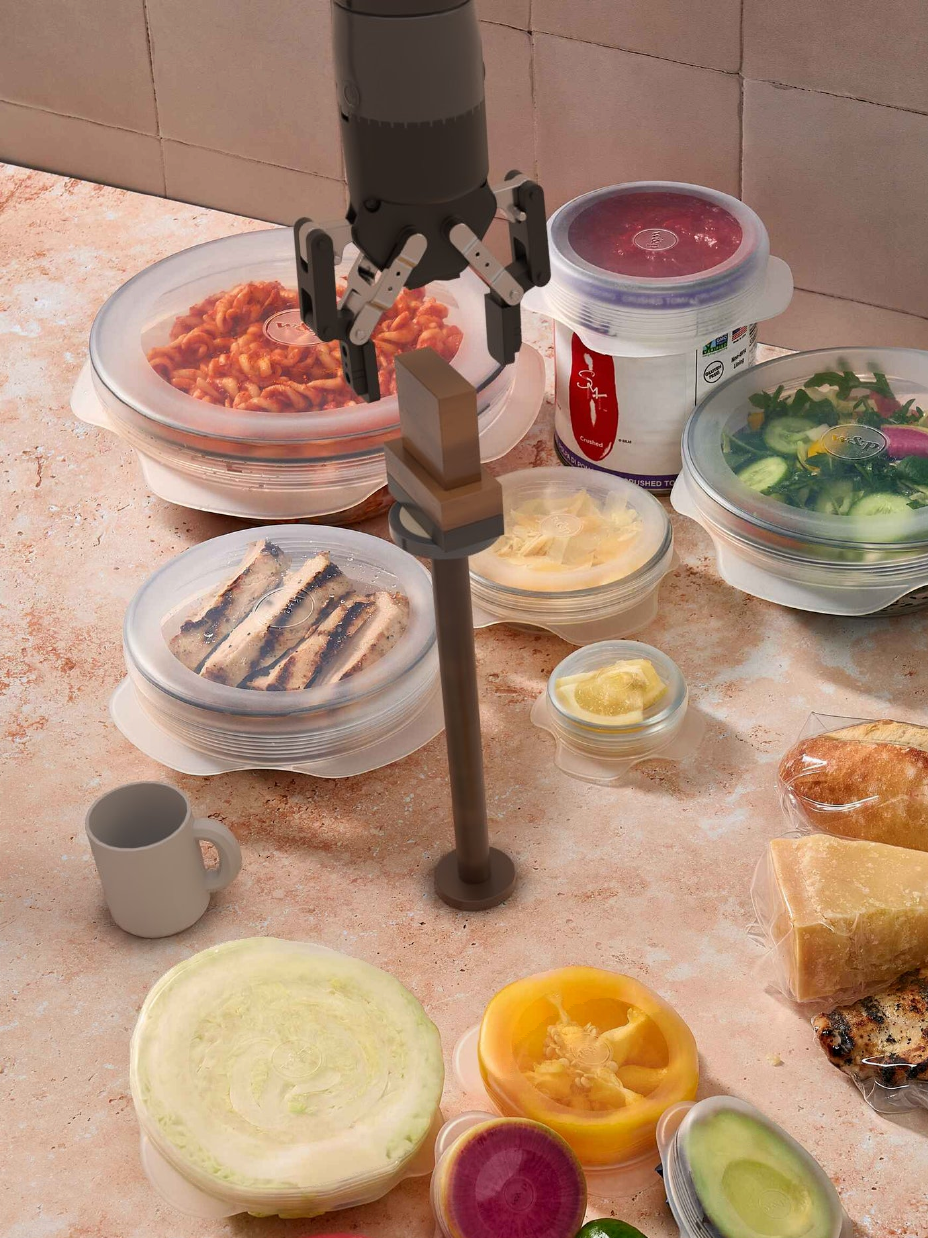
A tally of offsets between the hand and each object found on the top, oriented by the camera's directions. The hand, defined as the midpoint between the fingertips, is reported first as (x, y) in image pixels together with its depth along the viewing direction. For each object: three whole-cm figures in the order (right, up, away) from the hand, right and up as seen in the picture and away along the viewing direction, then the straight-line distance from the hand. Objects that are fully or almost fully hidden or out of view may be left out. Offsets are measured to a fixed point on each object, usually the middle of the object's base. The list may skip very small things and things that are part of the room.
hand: (435, 377), depth 96 cm
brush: (0, -7, +6) cm, 9 cm away
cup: (-22, -32, +26) cm, 47 cm away
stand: (0, -30, +28) cm, 41 cm away
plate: (0, -7, +7) cm, 10 cm away
